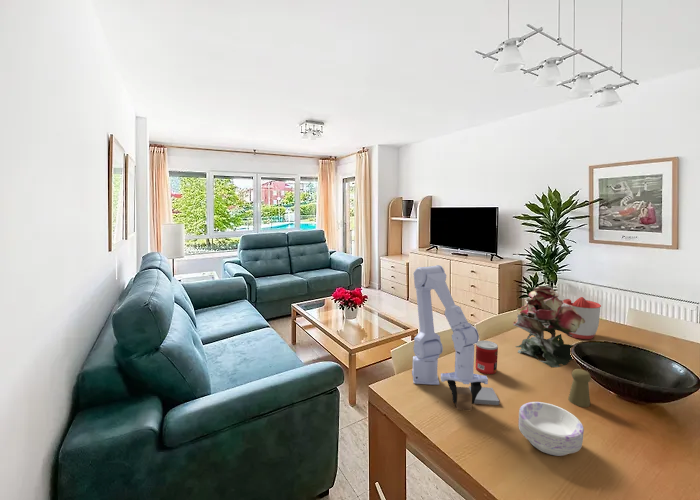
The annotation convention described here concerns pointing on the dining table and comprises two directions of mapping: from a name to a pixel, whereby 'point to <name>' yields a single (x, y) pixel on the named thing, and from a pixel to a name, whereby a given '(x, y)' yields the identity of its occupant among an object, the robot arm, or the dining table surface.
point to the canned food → (486, 357)
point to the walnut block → (463, 398)
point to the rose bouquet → (547, 326)
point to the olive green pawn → (580, 388)
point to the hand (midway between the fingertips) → (463, 402)
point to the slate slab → (486, 396)
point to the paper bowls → (550, 428)
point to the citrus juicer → (586, 317)
